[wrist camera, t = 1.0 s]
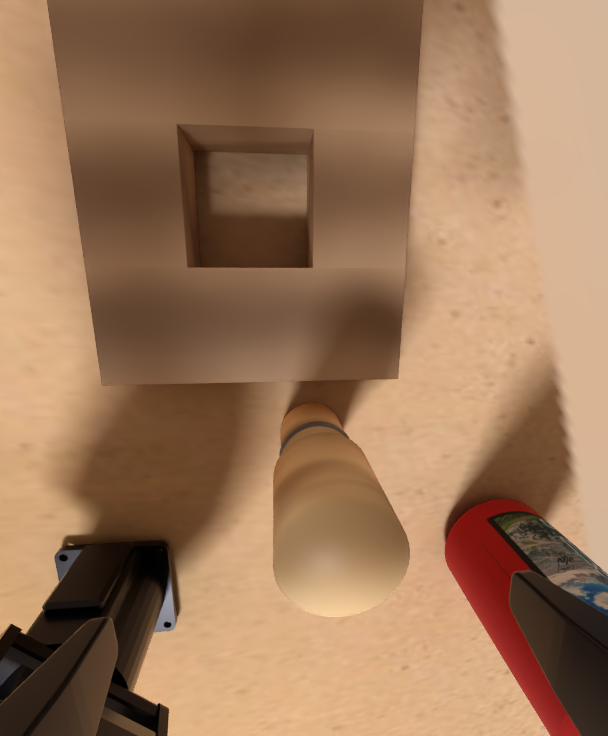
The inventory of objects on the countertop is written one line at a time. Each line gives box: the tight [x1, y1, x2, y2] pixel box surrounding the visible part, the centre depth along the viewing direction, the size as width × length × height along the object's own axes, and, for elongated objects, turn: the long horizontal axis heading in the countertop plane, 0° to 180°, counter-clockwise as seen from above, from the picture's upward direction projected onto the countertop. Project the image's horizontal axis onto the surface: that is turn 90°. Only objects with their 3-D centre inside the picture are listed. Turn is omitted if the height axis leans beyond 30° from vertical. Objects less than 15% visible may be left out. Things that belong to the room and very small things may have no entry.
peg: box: [273, 403, 410, 617], centre depth 16 cm, size 4×4×10 cm
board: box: [47, 0, 423, 386], centre depth 16 cm, size 16×14×3 cm
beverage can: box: [445, 499, 608, 736], centre depth 18 cm, size 7×7×12 cm
